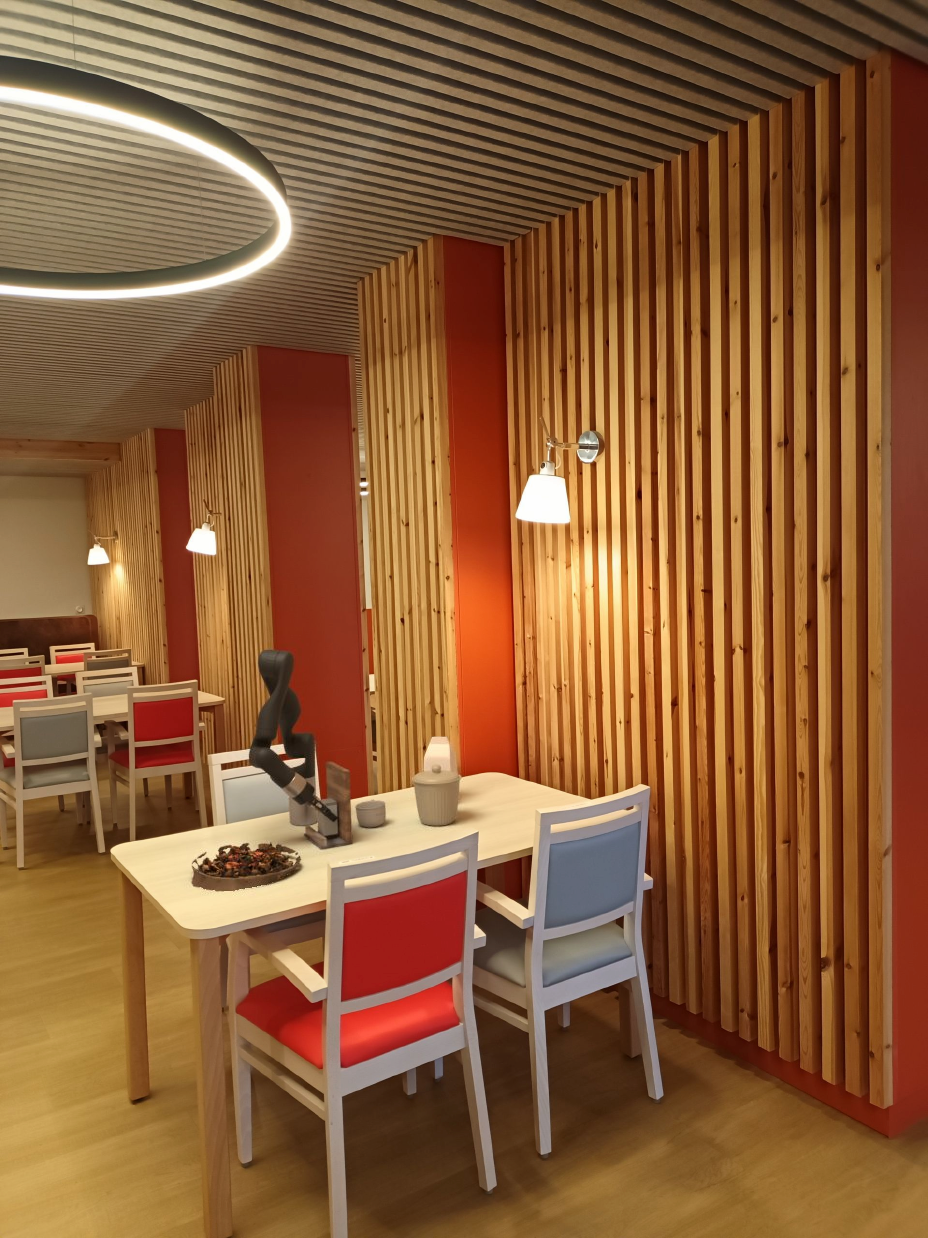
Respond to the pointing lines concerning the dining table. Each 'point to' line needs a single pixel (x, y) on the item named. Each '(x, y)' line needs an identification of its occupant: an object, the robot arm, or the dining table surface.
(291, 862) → the food dish
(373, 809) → the teacup
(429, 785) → the canister
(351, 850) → the dining table surface
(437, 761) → the milk
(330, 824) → the grey box
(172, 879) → the dining table surface
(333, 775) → the wall board
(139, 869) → the dining table surface
